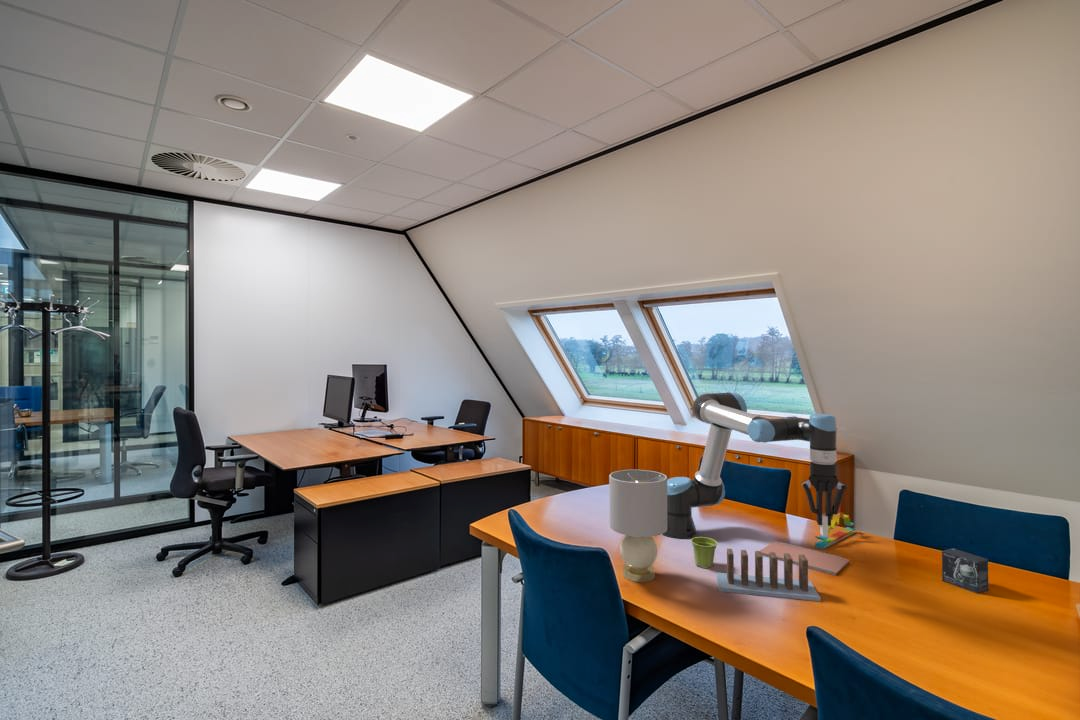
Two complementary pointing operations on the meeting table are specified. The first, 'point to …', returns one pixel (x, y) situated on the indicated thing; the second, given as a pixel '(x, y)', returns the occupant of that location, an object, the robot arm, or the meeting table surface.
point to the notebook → (814, 557)
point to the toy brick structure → (839, 535)
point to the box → (965, 570)
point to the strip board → (766, 588)
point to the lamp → (638, 518)
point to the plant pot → (704, 551)
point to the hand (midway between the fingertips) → (824, 535)
